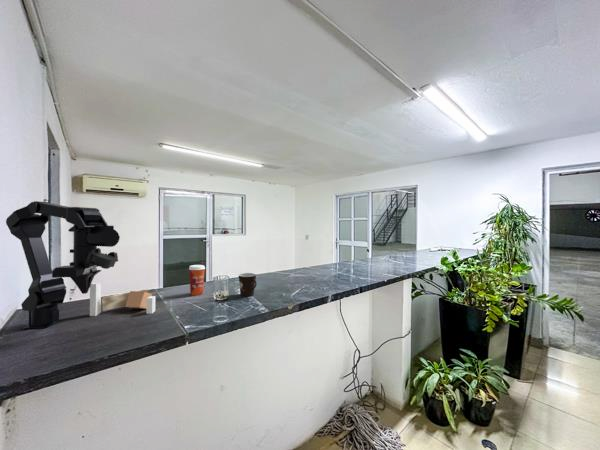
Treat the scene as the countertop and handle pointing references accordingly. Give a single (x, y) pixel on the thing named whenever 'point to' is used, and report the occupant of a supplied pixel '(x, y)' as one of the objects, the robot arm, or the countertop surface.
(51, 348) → the countertop surface
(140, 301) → the doorstop block
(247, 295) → the coffee mug
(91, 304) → the twin post hurdle
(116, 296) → the gate
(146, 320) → the countertop surface
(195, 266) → the paper cup
